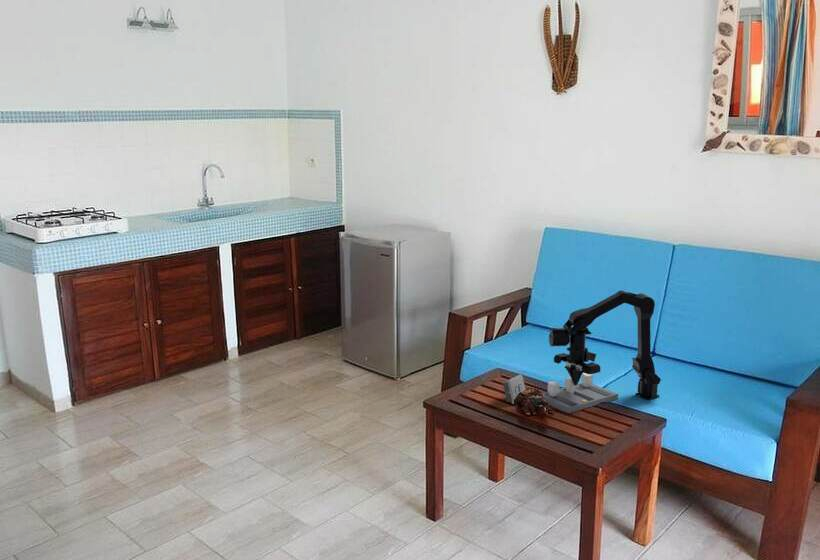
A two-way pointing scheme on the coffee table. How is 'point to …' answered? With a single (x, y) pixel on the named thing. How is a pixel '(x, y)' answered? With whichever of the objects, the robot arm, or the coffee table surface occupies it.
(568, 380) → the breaker handle
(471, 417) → the coffee table surface
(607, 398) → the breaker panel
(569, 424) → the coffee table surface
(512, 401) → the electrical switch
